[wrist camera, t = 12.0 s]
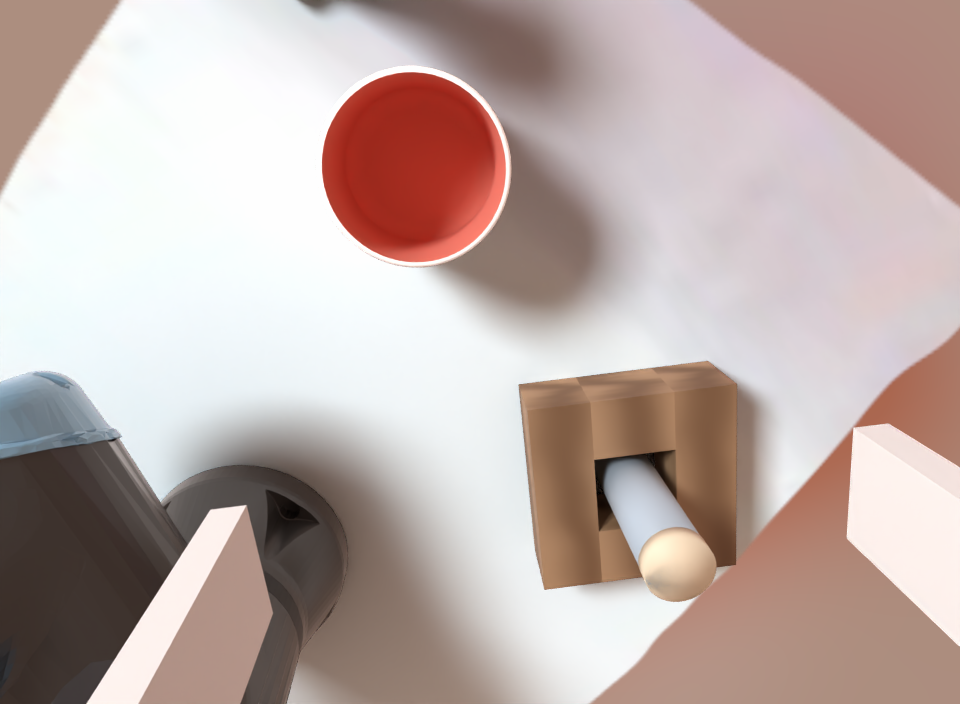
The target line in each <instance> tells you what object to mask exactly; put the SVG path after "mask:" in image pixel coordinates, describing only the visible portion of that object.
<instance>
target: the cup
mask: <svg viewBox="0 0 960 704" xmlns="http://www.w3.org/2000/svg"><path fill="white" fill-rule="evenodd" d="M316 170H317V180H318V185H319V190H320V193H321V196H322V199H323V202H324V204H325V207H326V209H327V211H328V213H329V215H330V217H331V218H332V220H333V221H334V223H335V224H336V226H337V227H338V228H339V230H340V231H341V232H342V233H343V234H344V235H345V237H346V238H347V239H348V240H349V241H351V242H352V243H353V244H354V245H355V246H357V247H358V248H359V249H361V250H362V251H364V252H365V253H367V254H368V255H370V256H372V257H374V258H376V259H378V260H381V261H384V262H387V263H390V264H394V265H398V266H404V267H429V266H435V265H440V264H443V263H446V262H449V261H452V260H454V259H456V258H459V257H460V256H462V255H464V254H466V253H467V252H469V251H470V250H472V249H473V248H474V247H475V246H477V245H478V244H479V243H480V242H481V241H482V240H483V239H484V238H485V237H486V236H487V235H488V234H489V232H490V231H491V230H492V229H493V227H494V226H495V224H496V223H497V221H498V219H499V217H500V215H501V213H502V211H503V209H504V206H505V204H506V201H507V197H508V194H509V189H510V184H511V155H510V149H509V145H508V141H507V138H506V135H505V132H504V129H503V127H502V125H501V123H500V121H499V119H498V117H497V115H496V114H495V112H494V111H493V109H492V108H491V106H490V105H489V104H488V103H487V101H486V100H485V99H484V98H483V97H482V96H481V95H480V94H479V93H478V92H477V91H476V90H475V89H473V88H472V87H471V86H470V85H468V84H467V83H465V82H464V81H462V80H460V79H459V78H457V77H455V76H453V75H451V74H448V73H446V72H444V71H441V70H437V69H434V68H429V67H423V66H400V67H394V68H389V69H385V70H382V71H379V72H376V73H374V74H372V75H370V76H368V77H366V78H364V79H363V80H361V81H359V82H358V83H356V84H355V85H354V86H353V87H351V88H350V89H349V90H348V91H347V92H346V93H345V94H344V95H343V96H342V97H341V98H340V99H339V100H338V102H337V103H336V104H335V106H334V107H333V109H332V110H331V112H330V114H329V115H328V117H327V119H326V121H325V124H324V126H323V129H322V131H321V135H320V138H319V143H318V148H317V157H316Z"/></svg>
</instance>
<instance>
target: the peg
mask: <svg viewBox="0 0 960 704" xmlns="http://www.w3.org/2000/svg"><path fill="white" fill-rule="evenodd" d="M594 465H595V475H596V477H597V479H598V481H599V483H600V485H601V487H602V490H603V492H604V494H605V496H606V498H607V500H608V502H609V504H610V506H611V509H612V511H613V513H614V515H615V517H616V519H617V521H618V523H619V525H620V528H621V530H622V532H623V534H624V536H625V538H626V540H627V542H628V544H629V547H630V549H631V551H632V553H633V555H634V557H635V559H636V561H637V564H638V566H639V569H640V572H641V574H642V576H643V578H644V580H645V582H646V585H647V587H648V588H649V590H650V591H651V592H652V593H653V594H654V595H655V596H657V597H659V598H660V599H663V600H666V601H671V602H680V601H686V600H689V599H692V598H694V597H696V596H698V595H700V594H701V593H702V592H703V591H705V590H706V589H707V588H708V587H709V585H710V584H711V583H712V581H713V579H714V576H715V573H716V560H715V557H714V554H713V553H712V551H711V550H710V548H709V547H708V545H707V544H706V542H705V541H704V539H703V538H702V537H701V536H700V535H699V533H698V532H697V530H696V529H695V527H694V526H693V524H692V523H691V521H690V520H689V518H688V517H687V515H686V514H685V512H684V511H683V509H682V508H681V506H680V505H679V503H678V502H677V500H676V499H675V497H674V496H673V494H672V493H671V491H670V490H669V488H668V487H667V485H666V484H665V482H664V481H663V479H662V478H661V476H660V475H659V473H658V472H657V470H656V469H655V467H654V466H653V464H652V463H651V462H650V460H649V459H648V457H647V456H646V454H637V455H629V456H621V457H613V458H605V459H597V460H594Z"/></svg>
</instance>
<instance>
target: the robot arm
mask: <svg viewBox="0 0 960 704" xmlns="http://www.w3.org/2000/svg"><path fill="white" fill-rule="evenodd" d="M120 437H122V436H121V434H120V433H119V432H118V431H117V430H116V429H114V428H110V426H109V425H108V424H107V422H106V421H105V420H104V418H103V417H102V416H101V414H100V413H99V412H98V410H97V409H96V408H95V406H94V405H93V404H92V402H91V401H90V399H89V398H88V397H87V395H86V394H85V393H84V391H83V390H82V389H81V387H80V386H79V385H78V384H77V383H76V382H74V381H73V380H72V379H70V378H68V377H67V376H65V375H62V374H59V373H56V372H50V371H34V372H29V373H26V374H22V375H19V376H16V377H13V378H10V379H7V380H4V381H1V382H0V704H287V700H288V696H289V692H290V689H291V685H292V681H293V677H294V673H295V669H296V665H297V662H298V658H299V654H300V651H301V650H302V648H303V647H304V646H305V645H306V643H307V642H308V641H309V639H310V638H311V637H312V635H313V634H314V633H315V632H316V631H317V630H318V628H319V627H320V626H321V625H322V624H323V623H324V622H325V621H326V619H327V618H328V617H329V616H330V614H331V613H332V611H333V609H334V607H335V605H336V603H337V601H338V599H339V597H340V594H341V591H342V587H343V583H344V578H345V574H346V569H347V562H348V550H347V543H346V538H345V534H344V531H343V529H342V526H341V524H340V522H339V520H338V518H337V516H336V515H335V513H334V512H333V510H332V509H331V507H330V506H329V505H328V504H327V503H326V501H325V500H324V499H323V498H322V497H321V496H320V495H319V494H317V493H316V492H315V491H314V490H313V489H311V488H310V487H309V486H307V485H306V484H304V483H303V482H301V481H299V480H297V479H295V478H293V477H291V476H289V475H287V474H284V473H282V472H279V471H276V470H272V469H268V468H263V467H258V466H246V465H234V466H225V467H218V468H214V469H210V470H207V471H204V472H201V473H199V474H196V475H194V476H192V477H190V478H188V479H187V480H185V481H183V482H182V483H180V484H179V485H178V486H176V487H175V488H174V489H173V490H172V491H171V492H170V493H168V494H167V496H166V497H165V498H164V499H163V500H162V502H160V501H159V499H158V498H157V496H156V495H155V493H154V492H153V490H152V488H151V487H150V485H149V484H148V482H147V481H146V479H145V478H144V476H143V475H142V473H141V471H140V470H139V468H138V467H137V465H136V464H135V462H134V461H133V459H132V458H131V456H130V454H129V453H128V451H127V450H126V448H125V447H124V445H123V444H122V442H121V441H120V439H119V438H120ZM848 511H849V512H848V526H847V539H848V540H849V541H850V542H851V543H852V544H853V545H854V546H855V547H856V548H857V549H858V550H859V551H860V552H862V553H863V554H864V555H865V556H866V557H867V558H868V559H869V560H870V561H871V562H872V563H873V564H874V565H875V566H876V567H877V568H878V569H879V570H880V571H881V572H883V574H884V575H885V576H887V577H888V578H889V579H890V580H891V581H892V582H893V583H894V584H895V585H896V586H897V587H898V588H899V589H900V590H901V591H902V592H903V593H904V594H905V595H907V596H908V598H909V599H910V600H912V601H913V602H914V603H915V604H916V605H917V606H918V607H919V608H920V609H921V610H922V611H923V612H924V613H925V614H926V615H927V616H928V617H930V619H931V620H932V621H933V622H935V624H937V625H938V626H939V627H940V628H941V629H942V630H943V631H944V632H945V633H946V634H947V635H948V636H949V637H950V638H952V640H953V641H954V642H955V643H956V644H957V645H958V646H959V647H960V467H958V466H957V465H955V464H953V463H952V462H950V461H948V460H947V459H945V458H943V457H942V456H940V455H938V454H937V453H935V452H934V451H932V450H931V449H929V448H927V447H926V446H924V445H922V444H921V443H919V442H917V441H916V440H914V439H913V438H911V437H909V436H908V435H906V434H904V433H903V432H901V431H900V430H898V429H896V428H895V427H893V426H891V425H890V424H881V425H874V426H866V427H858V428H854V430H853V446H852V463H851V479H850V494H849V510H848Z"/></svg>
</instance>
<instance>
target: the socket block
mask: <svg viewBox="0 0 960 704" xmlns="http://www.w3.org/2000/svg"><path fill="white" fill-rule="evenodd" d="M519 393H520V403H521V413H522V423H523V433H524V443H525V453H526V463H527V474H528V484H529V494H530V504H531V514H532V524H533V534H534V544H535V551H536V556H537V560H538V564H539V568H540V573H541V577H542V581H543V585H544V590H547V589H554V588H562V587H570V586H577V585H585V584H593V583H600V582H608V581H616V580H623V579H631V578H638V577H643V576H642V574H641V572H640V569H639V566H638V564H637V561H636V559H635V557H634V555H633V553H632V551H631V549H630V547H629V544H628V542H627V540H626V538H625V536H624V534H623V532H622V530H621V528H620V525H619V523H618V521H617V519H616V517H615V515H614V513H613V511H612V509H611V506H610V504H609V502H608V500H607V498H606V496H605V494H596V480H595V465H594V460H597V459H605V458H613V457H621V456H629V455H637V454H645V453H653V452H654V457H655V469H656V470H657V472H658V473H659V475H660V476H661V478H662V479H663V481H664V482H665V484H666V485H667V487H668V488H669V490H670V491H671V493H672V494H673V496H674V497H675V499H676V500H677V502H678V503H679V505H680V506H681V508H682V509H683V511H684V512H685V514H686V515H687V517H688V518H689V520H690V521H691V523H692V524H693V526H694V527H695V529H696V530H697V532H698V533H699V535H700V536H701V537H702V538H703V539H704V541H705V542H706V544H707V545H708V547H709V548H710V550H711V551H712V553H713V554H714V557H715V560H716V567H722V566H730V565H736V471H737V384H736V383H735V382H734V381H732V380H731V379H730V378H729V377H727V376H726V375H725V374H724V373H722V372H721V371H720V370H719V369H717V368H716V367H715V366H714V365H712V364H711V363H710V362H708V361H704V362H696V363H688V364H680V365H672V366H664V367H656V368H648V369H640V370H631V371H623V372H615V373H607V374H599V375H591V376H583V377H575V378H567V379H559V380H551V381H543V382H535V383H527V384H519Z"/></svg>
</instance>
